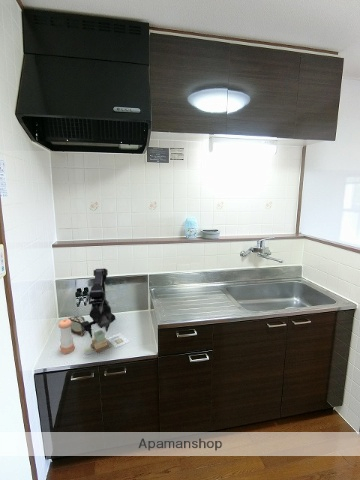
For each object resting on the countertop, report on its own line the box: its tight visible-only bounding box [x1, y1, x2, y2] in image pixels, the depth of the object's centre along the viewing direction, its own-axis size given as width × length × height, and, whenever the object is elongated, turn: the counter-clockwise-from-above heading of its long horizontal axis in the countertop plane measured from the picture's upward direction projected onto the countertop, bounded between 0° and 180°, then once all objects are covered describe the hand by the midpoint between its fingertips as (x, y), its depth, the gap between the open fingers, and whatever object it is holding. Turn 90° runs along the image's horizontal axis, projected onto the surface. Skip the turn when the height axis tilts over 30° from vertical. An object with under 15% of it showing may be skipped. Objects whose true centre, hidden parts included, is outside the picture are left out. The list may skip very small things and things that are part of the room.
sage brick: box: [93, 329, 106, 342], centre depth 145 cm, size 4×4×4 cm
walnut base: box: [90, 341, 111, 354], centre depth 147 cm, size 8×8×2 cm
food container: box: [67, 315, 86, 337], centre depth 161 cm, size 12×6×10 cm, turn 65°
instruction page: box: [106, 332, 130, 349], centre depth 154 cm, size 12×9×1 cm
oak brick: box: [91, 337, 108, 349], centre depth 146 cm, size 6×6×4 cm
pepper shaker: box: [57, 318, 75, 355], centre depth 142 cm, size 7×7×19 cm
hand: (99, 334), depth 146 cm, fingers open, 9 cm apart
